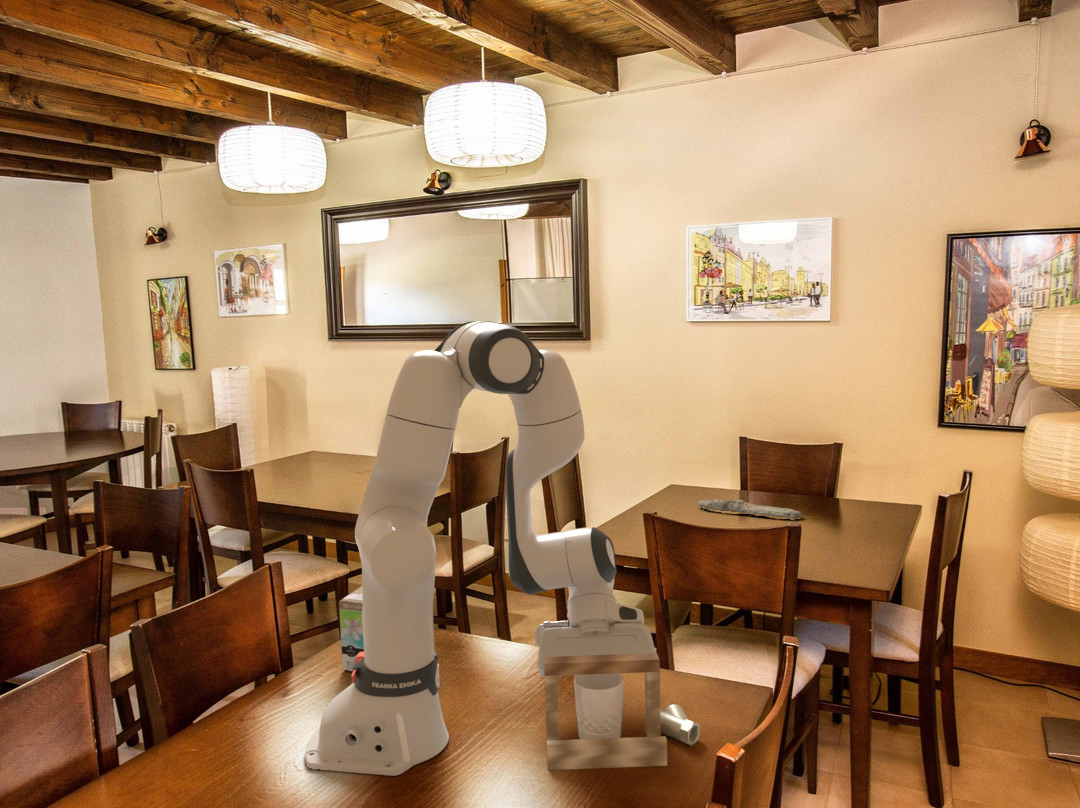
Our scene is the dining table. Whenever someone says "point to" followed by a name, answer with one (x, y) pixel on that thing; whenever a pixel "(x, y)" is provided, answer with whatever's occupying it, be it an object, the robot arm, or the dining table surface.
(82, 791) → the dining table surface
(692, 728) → the pipe fitting
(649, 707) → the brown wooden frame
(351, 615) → the tea box
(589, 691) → the white cup
